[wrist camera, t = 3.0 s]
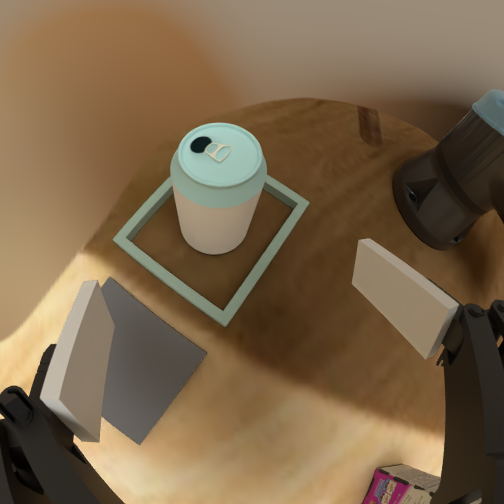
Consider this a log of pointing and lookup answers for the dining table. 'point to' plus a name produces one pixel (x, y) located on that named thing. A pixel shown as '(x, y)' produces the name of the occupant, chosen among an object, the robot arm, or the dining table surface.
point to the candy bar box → (402, 486)
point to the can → (217, 185)
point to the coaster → (142, 364)
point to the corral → (178, 286)
